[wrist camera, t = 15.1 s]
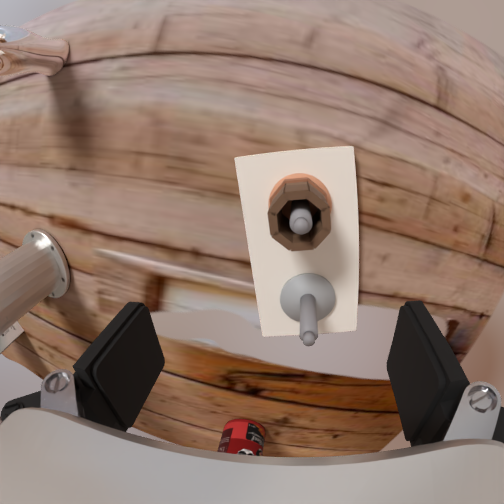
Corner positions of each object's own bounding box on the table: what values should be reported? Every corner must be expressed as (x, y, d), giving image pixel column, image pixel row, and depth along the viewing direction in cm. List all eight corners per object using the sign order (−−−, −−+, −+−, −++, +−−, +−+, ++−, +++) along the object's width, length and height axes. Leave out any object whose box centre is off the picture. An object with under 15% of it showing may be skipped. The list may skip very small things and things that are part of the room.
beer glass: (76, 33, 25) (-1, 16, 11) (65, 76, 27) (-18, 72, 14) (48, 40, 25) (-24, 31, 11) (38, 80, 28) (-37, 81, 14)
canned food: (269, 437, 48) (262, 482, 38) (232, 437, 50) (221, 480, 40) (260, 417, 45) (251, 467, 35) (219, 417, 47) (205, 464, 37)
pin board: (354, 323, 35) (366, 375, 26) (264, 329, 37) (253, 381, 28) (350, 146, 27) (374, 149, 18) (237, 157, 29) (212, 165, 21)
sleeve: (328, 228, 29) (335, 250, 23) (275, 233, 30) (270, 255, 24) (323, 175, 27) (330, 185, 21) (268, 180, 28) (261, 191, 22)
